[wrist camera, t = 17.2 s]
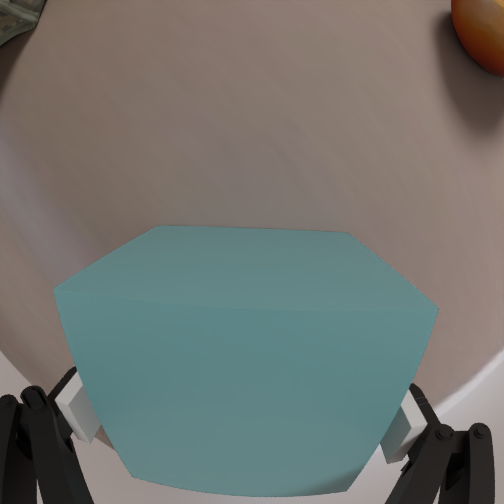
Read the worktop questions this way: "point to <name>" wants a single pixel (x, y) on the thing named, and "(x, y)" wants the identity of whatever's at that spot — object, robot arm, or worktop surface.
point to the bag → (18, 17)
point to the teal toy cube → (245, 355)
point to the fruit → (481, 31)
